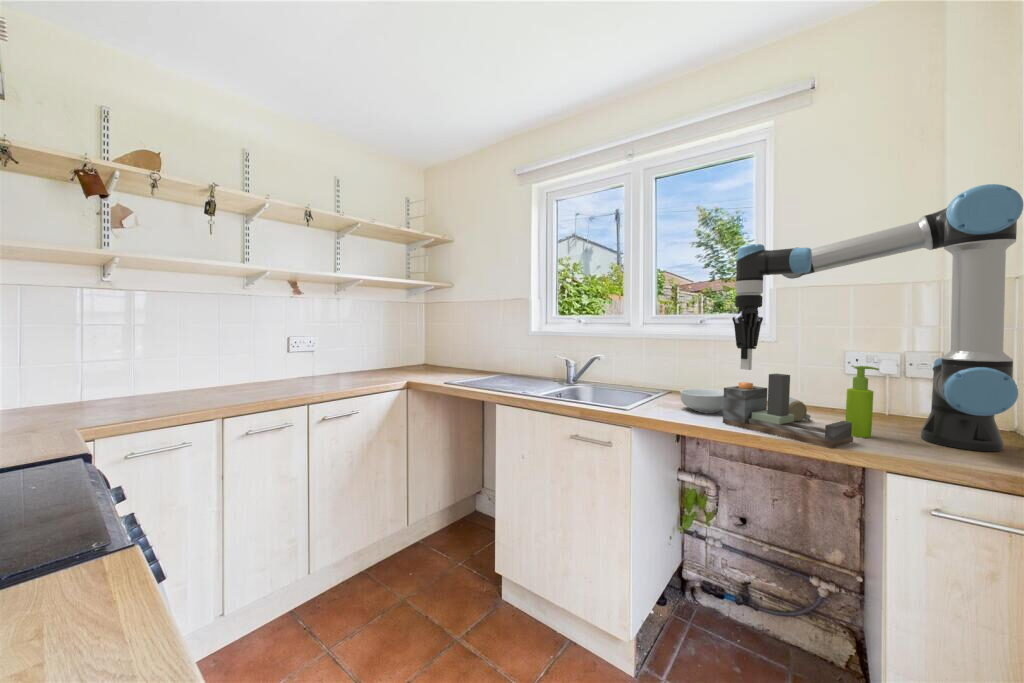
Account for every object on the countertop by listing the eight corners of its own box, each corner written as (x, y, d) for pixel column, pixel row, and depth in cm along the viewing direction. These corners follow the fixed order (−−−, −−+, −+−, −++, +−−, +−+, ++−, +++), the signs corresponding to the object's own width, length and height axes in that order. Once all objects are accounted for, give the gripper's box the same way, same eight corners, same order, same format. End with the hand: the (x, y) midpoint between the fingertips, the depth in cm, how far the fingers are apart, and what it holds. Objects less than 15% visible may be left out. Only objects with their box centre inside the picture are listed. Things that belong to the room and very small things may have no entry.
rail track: (852, 441, 114) (854, 400, 114) (831, 448, 108) (833, 404, 108) (744, 419, 140) (745, 385, 140) (722, 423, 134) (723, 387, 134)
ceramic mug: (787, 422, 136) (789, 399, 135) (769, 416, 144) (770, 394, 143) (817, 422, 137) (818, 399, 137) (797, 416, 145) (798, 394, 145)
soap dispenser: (879, 439, 117) (883, 368, 116) (849, 436, 119) (853, 366, 118) (870, 433, 123) (873, 365, 122) (841, 431, 125) (844, 364, 124)
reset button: (755, 392, 133) (755, 383, 133) (748, 394, 131) (748, 384, 131) (743, 391, 136) (743, 381, 136) (735, 392, 134) (736, 382, 134)
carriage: (793, 421, 125) (795, 374, 124) (779, 424, 121) (781, 376, 120) (766, 416, 132) (767, 371, 131) (751, 418, 128) (753, 373, 127)
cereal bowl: (696, 404, 165) (697, 386, 164) (739, 412, 151) (740, 392, 151) (670, 409, 155) (670, 390, 155) (713, 418, 141) (714, 397, 141)
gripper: (749, 296, 139) (746, 367, 140) (725, 294, 132) (722, 369, 133) (772, 295, 132) (769, 369, 133) (748, 293, 126) (745, 371, 127)
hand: (745, 369), depth 133 cm, fingers closed
